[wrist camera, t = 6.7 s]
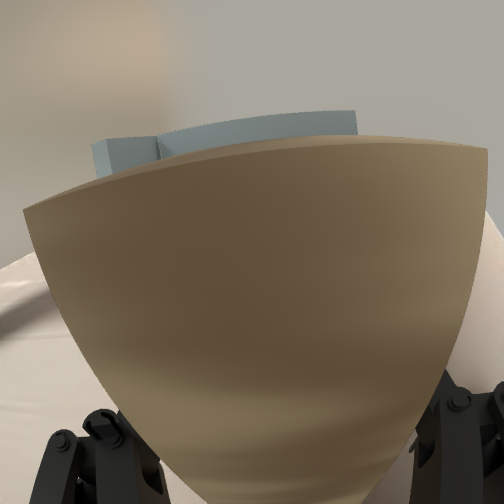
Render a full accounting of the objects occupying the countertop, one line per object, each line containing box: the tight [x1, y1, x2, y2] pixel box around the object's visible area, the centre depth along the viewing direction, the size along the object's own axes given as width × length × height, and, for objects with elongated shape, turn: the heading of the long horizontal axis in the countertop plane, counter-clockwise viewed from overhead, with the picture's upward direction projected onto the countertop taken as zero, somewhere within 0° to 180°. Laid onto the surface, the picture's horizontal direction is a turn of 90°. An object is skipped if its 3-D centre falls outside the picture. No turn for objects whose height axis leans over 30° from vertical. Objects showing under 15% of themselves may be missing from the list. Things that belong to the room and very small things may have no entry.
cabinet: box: [91, 110, 358, 179], centre depth 20 cm, size 20×16×18 cm
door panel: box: [23, 135, 488, 504], centre depth 8 cm, size 4×7×16 cm, turn 179°
